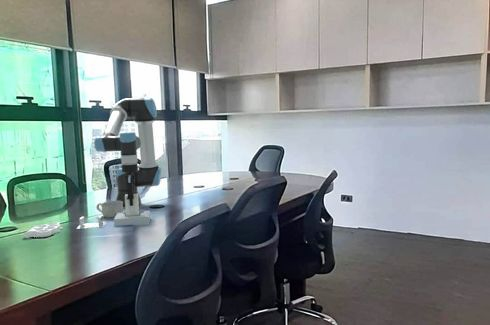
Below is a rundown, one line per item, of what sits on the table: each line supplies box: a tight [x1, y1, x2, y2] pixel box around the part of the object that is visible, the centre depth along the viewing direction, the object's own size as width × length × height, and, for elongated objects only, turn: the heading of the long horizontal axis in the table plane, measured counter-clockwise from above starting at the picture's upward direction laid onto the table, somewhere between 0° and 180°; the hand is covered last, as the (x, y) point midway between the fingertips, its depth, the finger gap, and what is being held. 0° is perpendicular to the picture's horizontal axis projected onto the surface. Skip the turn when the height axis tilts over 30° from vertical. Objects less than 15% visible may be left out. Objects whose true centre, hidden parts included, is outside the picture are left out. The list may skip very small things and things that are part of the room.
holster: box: [76, 214, 107, 230], centre depth 190 cm, size 10×12×5 cm
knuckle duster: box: [22, 222, 64, 239], centre depth 180 cm, size 3×18×15 cm
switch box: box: [113, 210, 151, 227], centre depth 195 cm, size 14×16×4 cm
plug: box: [124, 193, 140, 216], centre depth 195 cm, size 4×6×12 cm, turn 101°
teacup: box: [96, 200, 124, 219], centre depth 209 cm, size 14×11×8 cm
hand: (132, 211), depth 195 cm, fingers closed on plug, 4 cm apart
